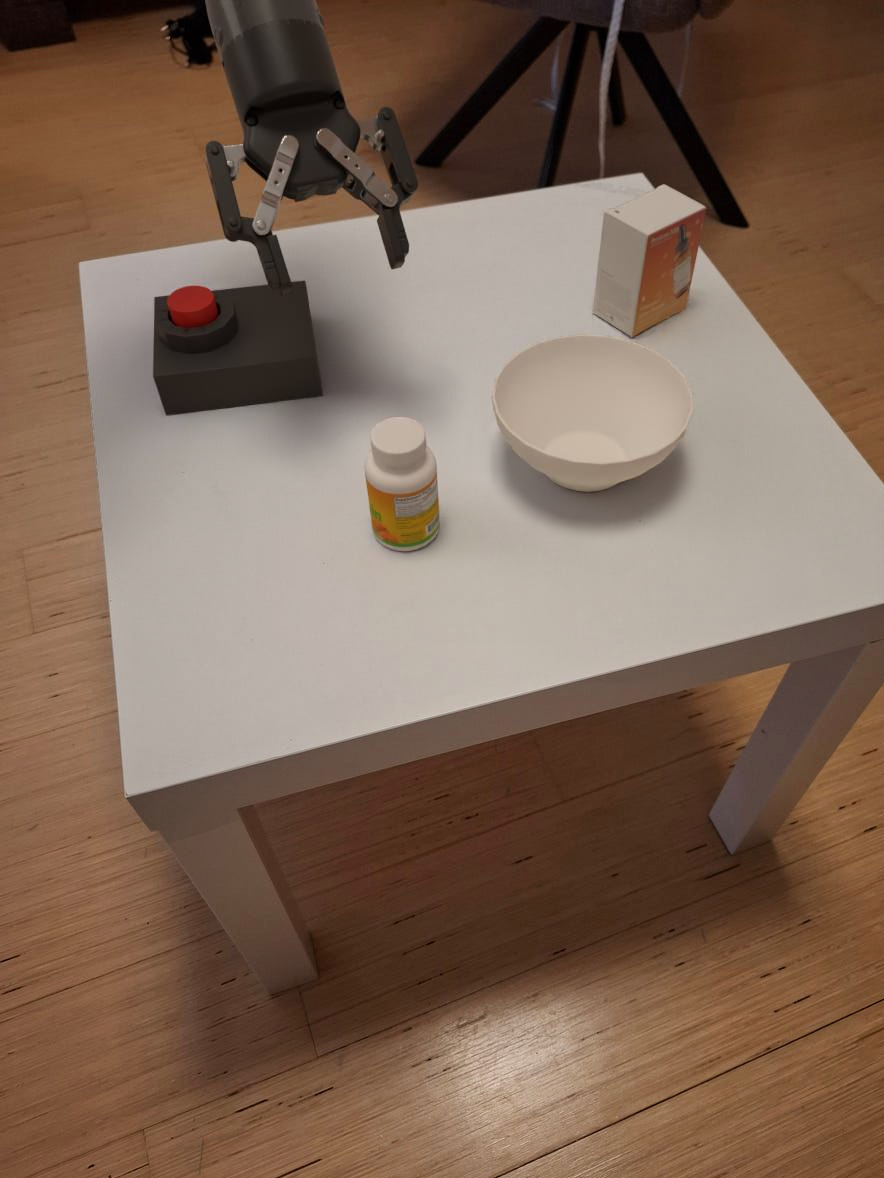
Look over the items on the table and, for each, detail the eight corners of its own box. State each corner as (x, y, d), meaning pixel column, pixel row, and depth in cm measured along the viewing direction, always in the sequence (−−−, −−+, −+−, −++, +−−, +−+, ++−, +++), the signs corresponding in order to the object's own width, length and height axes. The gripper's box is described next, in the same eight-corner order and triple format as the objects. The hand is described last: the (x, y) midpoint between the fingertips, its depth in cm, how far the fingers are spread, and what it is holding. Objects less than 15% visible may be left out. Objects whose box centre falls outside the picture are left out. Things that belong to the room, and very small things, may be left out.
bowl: (597, 560, 73) (606, 495, 68) (452, 463, 80) (449, 396, 74) (716, 459, 80) (734, 392, 74) (574, 377, 87) (580, 310, 81)
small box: (631, 339, 90) (646, 236, 82) (590, 313, 93) (601, 210, 84) (688, 308, 93) (709, 205, 85) (647, 283, 96) (664, 181, 87)
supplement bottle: (365, 512, 76) (352, 418, 69) (429, 498, 77) (423, 403, 70) (381, 559, 73) (369, 466, 65) (447, 544, 74) (444, 450, 66)
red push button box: (165, 415, 84) (146, 358, 79) (166, 335, 91) (148, 279, 86) (323, 395, 85) (313, 339, 80) (311, 318, 92) (302, 262, 87)
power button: (172, 331, 82) (166, 314, 80) (172, 305, 84) (167, 287, 83) (218, 326, 82) (214, 308, 81) (217, 300, 84) (213, 282, 83)
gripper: (360, 53, 71) (423, 271, 74) (172, 87, 67) (245, 314, 70) (378, -2, 64) (446, 242, 67) (168, 33, 60) (250, 288, 63)
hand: (343, 279), depth 68 cm, fingers open, 8 cm apart
